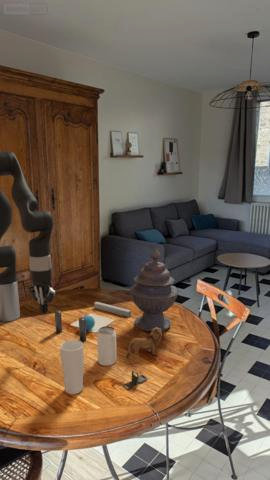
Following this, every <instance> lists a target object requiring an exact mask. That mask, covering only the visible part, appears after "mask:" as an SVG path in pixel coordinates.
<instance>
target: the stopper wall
mask: <svg viewBox="0 0 270 480" xmlns="http://www.w3.org/2000/svg"><path fill="white" fill-rule="evenodd" d="M93 307H94V309H98V310H101V311H104V312H109V313H113V314H116V315H120V316H122V317H127V318H130V317H131V316H132V310H130V309H127V308H123V307H118V306H116V305H111V304H107V303H103V302H99V301H95V302H93Z"/></svg>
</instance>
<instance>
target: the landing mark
mask: <svg viewBox="0 0 270 480" xmlns="http://www.w3.org/2000/svg"><path fill="white" fill-rule="evenodd" d="M88 315H89V316H92V317H93V318H94V320H95V325H94V327H93V328H92V329H90V330H86V332H90V333H94V334H96V333H98V330H99V328H101V327H104V326H109V325H110V324H112V323H114V322H116V320H115V319H112V318H109V317H106V316H102V315H98V314H95V313H91V312H90V313H89V314H88ZM70 326H72V327H75V328H78V329H79V319H78V320H76V321H74V322H72V323H71V324H70Z"/></svg>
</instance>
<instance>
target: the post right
mask: <svg viewBox="0 0 270 480" xmlns="http://www.w3.org/2000/svg"><path fill="white" fill-rule="evenodd" d="M78 320H79V328H78V330H79V331H78V333H79V334H78V335H79V341H81V342H82V343H83V342H86V341H87V330H86V320H85V318H84V316H83V317H79V318H78Z"/></svg>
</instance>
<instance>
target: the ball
mask: <svg viewBox="0 0 270 480" xmlns="http://www.w3.org/2000/svg"><path fill="white" fill-rule="evenodd" d="M83 317H84V318H85V320H86V331H87V330H90V329H92V328H93V327H94V325H95V320H94V318H93V317H92V316H89V314H87V315H84V316H83Z"/></svg>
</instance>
